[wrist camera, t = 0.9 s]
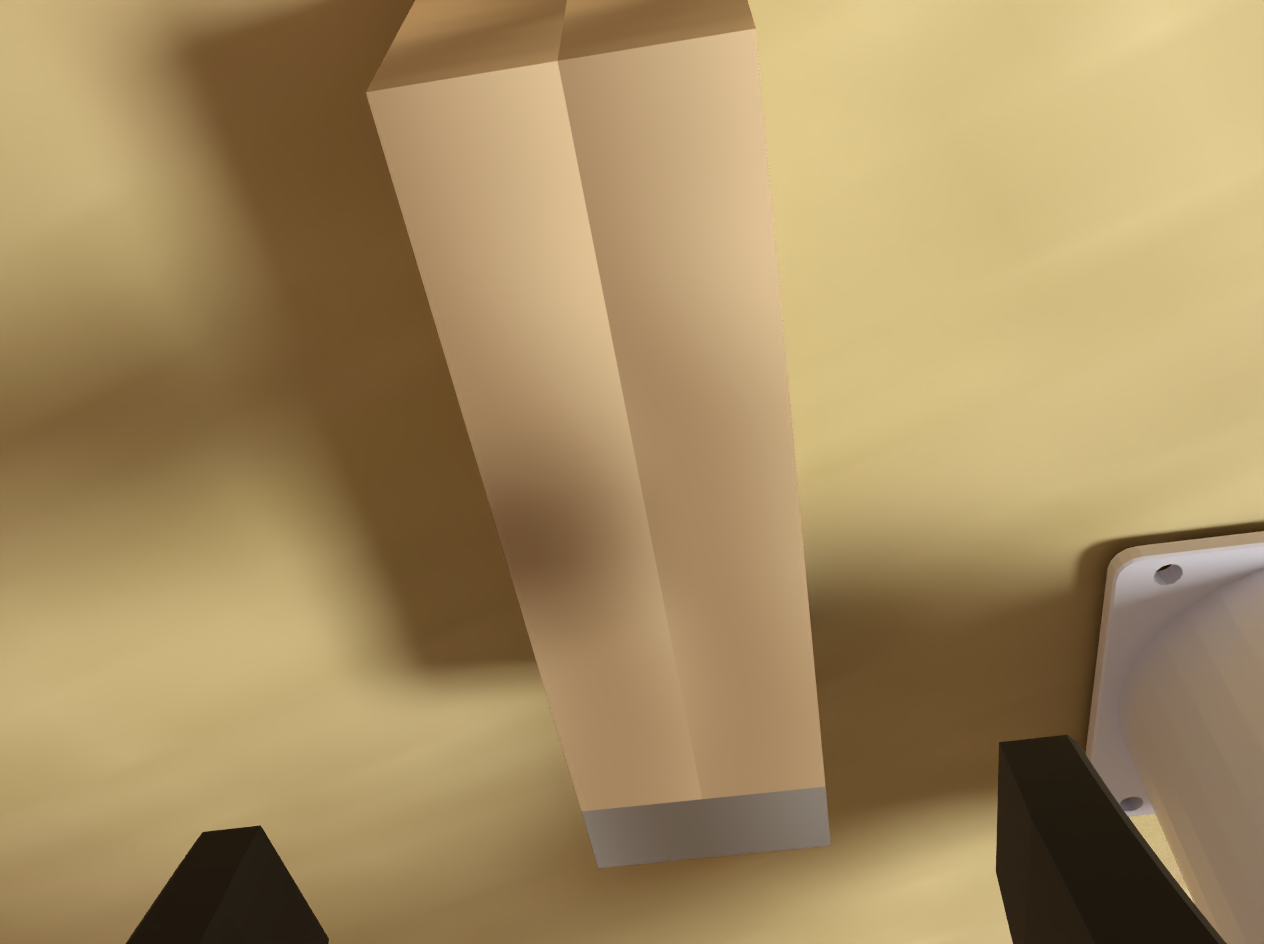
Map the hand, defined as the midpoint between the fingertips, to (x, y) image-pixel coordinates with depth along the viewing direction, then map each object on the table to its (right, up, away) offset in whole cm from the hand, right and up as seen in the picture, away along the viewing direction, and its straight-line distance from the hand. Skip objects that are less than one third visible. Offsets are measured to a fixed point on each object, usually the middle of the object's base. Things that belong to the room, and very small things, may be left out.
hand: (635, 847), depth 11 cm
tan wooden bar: (0, +6, +8) cm, 10 cm away
